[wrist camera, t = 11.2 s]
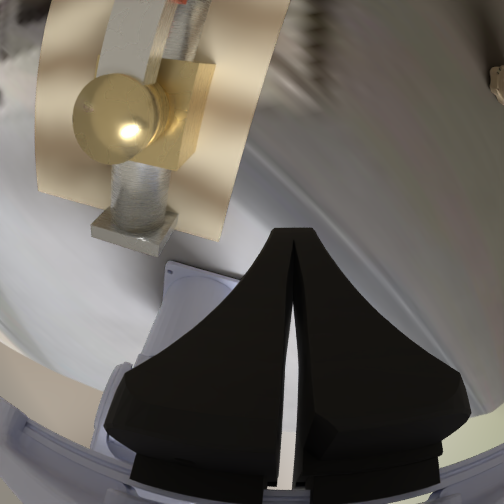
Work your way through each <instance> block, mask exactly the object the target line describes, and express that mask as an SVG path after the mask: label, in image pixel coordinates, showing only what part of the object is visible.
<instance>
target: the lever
mask: <svg viewBox="0 0 504 504" xmlns="http://www.w3.org/2000/svg"><path fill="white" fill-rule="evenodd" d="M186 3H187V0H115V2H114V5H113V8H112V11H111V15H110V18H109V22H108V25H107V29H106V33H105V37H104V41H103V45H102V50H101V54H100V59H99V64H98V69H97V75H96V78H95V79H93V80H92V81H90V82H89V83H88V84H87V85H86V86H85V87H84V88H83V89H82V91H81V92H80V93H79V95H78V97H77V99H76V102H75V105H74V109H73V115H72V123H73V130H74V134H75V137H76V140H77V142H78V144H79V145H80V147H81V148H82V150H83V151H84V152H85V153H86V154H87V155H88V156H89V157H90V158H92V159H93V160H95V161H97V162H100V163H103V164H108V165H115V164H121V163H124V162H126V161H128V160H130V159H131V158H133V157H134V156H136V155H137V154H138V153H140V152H141V151H143V150H144V149H146V148H147V147H149V146H150V145H152V144H153V143H154V142H155V141H156V140H157V139H158V138H159V137H160V136H161V134H162V133H163V131H164V129H165V127H166V124H167V121H168V116H169V104H168V99H167V96H166V93H165V91H164V89H163V87H162V86H161V85H160V83H159V82H158V81H157V80H156V79H157V75H158V71H159V67H160V63H161V59H162V55H163V51H164V48H165V44H166V41H167V37H168V34H169V31H170V27H171V24H172V21H173V18H174V15H175V12H176V9H177V6H178V4H184V5H186Z"/></svg>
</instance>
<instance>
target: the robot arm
mask: <svg viewBox="0 0 504 504" xmlns="http://www.w3.org/2000/svg"><path fill="white" fill-rule="evenodd" d="M170 270H172V271H170ZM292 305H293V307H294V317H295V327H296V338H297V349H298V365H299V375H298V407H297V428H296V444H295V458H294V459H295V460H294V471H293V482H292V490H269V489H267V486H271V487H277V478H278V475H279V463H280V449H281V434H282V418H283V400H284V380H285V363H286V354H287V346H288V338H289V331H290V322H291V314H292ZM132 365H133V364H131V363H128V362H124V363H123V364H120V365H117V366H116V367H115V369H114V370H113V372H112V374H111V376H110V378H109V380H108V383H107V385H106V387H105V390H104V392H103V395H102V398H101V401H100V404H99V407H98V410H97V414H96V418H95V423H94V429H95V430H94V434H93V437H92V441H91V445H90V448H91V449H88V448H86V447H84V446H82V445H79V444H77V443H75V442H73V441H71V440H69V439H67V438H65V437H63V436H60V435H59V434H57V433H55V432H53V431H51V430H49V429H47V428H45V427H44V426H42V425H40V424H38V423H37V422H35V421H33V420H31V419H30V418H28V417H27V416H26V415H25V414H24V413H23V412H21V411H20V410H19V409H17V408H16V407H15V406H13V405H12V404H11V403H9V402H8V401H6V400H5V399H3V398H2V397H0V477H1V478H2V480H3V481H4V482H5V483H6V484H7V486H8V487H9V488H10V489H11V490H12V492H13V493H14V494H15V495H16V496H17V497H18V498H19V500H20V501H21V502H22V503H23V504H194V503H196V504H388V503H392V502H397V501H401V500H405V499H409V498H413V497H417V496H420V495H424V494H427V493H431V492H433V493H432V494H431V495H430V497H429V499H428V500H427V501H426V502H422V503H418V504H504V443H503V444H501V445H499V446H497V447H494V448H492V449H490V450H488V451H486V452H483V453H481V454H479V455H476V456H473V457H471V458H468V459H466V460H463V461H460V462H458V463H455V464H452V465H449V466H446V467H443V468H440V469H439V464H438V456H440V455H442V453H443V448H442V440H443V439H445V438H446V437H448V436H449V435H451V434H452V433H453V432H455V431H456V430H457V429H459V428H460V427H461V426H462V425H463V424H464V423H466V422H467V420H468V418H469V417H470V415H471V409H470V404H469V400H468V396H467V392H466V388H465V385H464V383H463V380H462V377H461V375H460V373H459V372H458V371H456V370H455V369H453V368H451V367H450V366H448V365H447V364H445V363H444V362H442V361H440V360H439V359H437V358H436V357H434V356H433V355H431V354H430V353H428V352H427V351H425V350H424V349H423V348H421V347H420V346H419V345H417V344H416V343H414V342H413V341H412V340H410V339H409V338H408V337H407V336H405V335H404V334H403V333H402V332H400V331H399V330H398V329H397V328H396V327H395V326H393V325H392V324H391V323H390V322H389V321H388V320H386V319H385V318H384V317H383V316H382V315H381V314H380V313H379V312H378V311H377V310H376V309H374V308H373V307H372V306H371V305H370V303H369V302H368V301H367V300H366V299H365V298H364V297H363V296H362V295H361V294H360V293H359V292H358V291H357V289H356V288H355V287H354V286H353V285H352V284H351V282H350V281H349V280H348V279H347V278H346V276H345V275H344V274H343V273H342V271H341V270H340V269H339V267H338V266H337V265H336V263H335V262H334V260H333V259H332V258H331V256H330V255H329V253H328V252H327V250H326V249H325V247H324V246H323V244H322V243H321V241H320V239H319V237H318V236H317V234H316V232H315V230H314V229H313V228H274V229H273V230H272V231H271V233H270V235H269V238H268V240H267V242H266V243H265V245H264V247H263V249H262V250H261V252H260V253H259V255H258V257H257V258H256V260H255V261H254V263H253V264H252V266H251V267H250V268H249V270H248V271H247V272H246V274H245V275H244V276H243V278H242V279H241V280H237V279H233V278H230V277H226V276H223V275H219V274H216V273H212V272H209V271H205V270H202V269H198V268H195V267H191V266H188V265H184V264H181V263H178V262H174V261H168V262H167V263H166V265H165V275H164V288H163V302H162V305H161V307H160V309H159V312H158V314H157V316H156V319H155V321H154V323H153V326H152V328H151V330H150V333H149V335H148V338H147V340H146V343H145V345H144V347H143V350H142V352H141V354H139V355H138V358H137V360H136V363H135V365H134V368H133V369H132ZM434 491H435V492H434Z"/></svg>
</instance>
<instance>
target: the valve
mask: <svg viewBox="0 0 504 504" xmlns="http://www.w3.org/2000/svg"><path fill="white" fill-rule="evenodd" d="M211 2H212V0H187V3H186V5H184V4H178V6H177V9H176V12H175V15H174V18H173V21H172V24H171V27H170V31H169V34H168V37H167V41H166V44H165V48H164V51H163V55H162V59H161V63H160V67H159V71H158V75H157V79H156V80H157V81H158V82H159V83H160V85H161V86H162V87H163V89H164V91H165V93H166V96H167V99H168V104H169V116H168V121H167V124H166V127H165V129H164V131H163V133H162V134H161V136H160V137H159V138H158V139H157V140H156V141H155V142H154V143H153V144H152V145H150V146H149V147H147V148H146V149H144V150H143V151H141V152H140V153H138V154H137V155H136V156H134V157H133V158H131V159H130V160H128V161H126V162H124V163H121V164H115V165H112V168H111V205H110V206H109V207H108V208H107V209H106V210H105V211H104V212H103V213H102V214H101V215H100V216H99V217H98V218H97V219H96V220H95V221H94V222H93V223H92V224H91V235H92V237H94V238H97V239H100V240H103V241H107V242H110V243H113V244H116V245H119V246H122V247H125V248H129V249H132V250H135V251H138V252H142V253H145V254H148V255H151V256H155V257H159V255H160V253H161V251H162V250H163V248H164V246H165V244H166V243H167V241H168V239H169V238H170V236H171V234H172V233H173V231H174V229H175V227H176V226H177V222H178V215H179V214H178V213H174V212H170V211H167V210H166V206H167V198H168V190H169V183H170V177H171V170H172V171H177V170H178V169H179V168H180V167H181V166H182V165H183V164H184V163H185V162H186V161H187V160H188V159H189V158H190V157H191V156H192V155H193V154H194V153H195V151H196V146H197V141H198V137H199V132H200V128H201V123H202V119H203V115H204V110H205V106H206V102H207V98H208V94H209V90H210V86H211V82H212V79H213V75H214V71H215V67H216V64H210V63H205V62H199V61H194V59H195V55H196V51H197V47H198V44H199V40H200V37H201V33H202V30H203V27H204V23H205V20H206V17H207V14H208V11H209V8H210V5H211ZM99 59H100V55H98V58H97V63H96V69H95V76H94V79H95V78H96V75H97V69H98V64H99Z"/></svg>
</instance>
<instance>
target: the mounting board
mask: <svg viewBox="0 0 504 504" xmlns="http://www.w3.org/2000/svg"><path fill="white" fill-rule="evenodd" d="M290 1H291V0H212V2H211V5H210V8H209V11H208V14H207V17H206V20H205V23H204V27H203V30H202V33H201V37H200V40H199V44H198V47H197V51H196V55H195V59H194V61H199V62H205V63H210V64H216V67H215V71H214V75H213V79H212V82H211V86H210V90H209V94H208V98H207V102H206V106H205V110H204V115H203V119H202V123H201V128H200V132H199V137H198V141H197V146H196V151H195V153H194V154H193V155H192V156H191V157H190V158H189V159H188V160H187V161H186V162H185V163H184V164H183V165H182V166H181V167H180V168H179V169H178V170H177V171H172V170H171V177H170V183H169V190H168V198H167V206H166V210H167V211H170V212H174V213H178V214H179V215H178V222H177V226H176V227H175V229H174V230H177V231H181V232H185V233H188V234H192V235H195V236H199V237H202V238H206V239H209V240H213V241H216V242H219V239H220V236H221V232H222V228H223V224H224V220H225V216H226V213H227V209H228V205H229V201H230V197H231V194H232V190H233V186H234V183H235V179H236V175H237V172H238V168H239V164H240V161H241V157H242V154H243V150H244V147H245V143H246V140H247V136H248V133H249V129H250V126H251V122H252V119H253V116H254V112H255V109H256V106H257V102H258V99H259V96H260V92H261V89H262V86H263V83H264V79H265V76H266V73H267V70H268V67H269V64H270V60H271V57H272V54H273V51H274V48H275V45H276V42H277V39H278V36H279V33H280V30H281V27H282V24H283V21H284V18H285V15H286V12H287V10H288V7H289V4H290ZM114 2H115V0H52V2H51V6H50V9H49V13H48V17H47V22H46V26H45V31H44V36H43V41H42V47H41V53H40V60H39V67H38V76H37V87H36V101H35V158H36V173H37V184H38V191H39V192H43V193H47V194H50V195H54V196H57V197H61V198H64V199H68V200H71V201H75V202H78V203H82V204H85V205H89V206H93V207H96V208H100V209H103V210H106V209H107V208H108V207H109V206H110V205H111V168H112V165H108V164H103V163H100V162H97V161H95V160H93V159H92V158H90V157H89V156H88V155H87V154H86V153H85V152H84V151H83V150H82V148H81V147H80V145H79V144H78V142H77V140H76V137H75V134H74V130H73V123H72V115H73V109H74V105H75V102H76V99H77V97H78V95H79V93H80V92H81V91H82V89H83V88H84V87H85V86H86V85H87V84H88V83H89V82H90V81H92V80H93V79H94V76H95V69H96V63H97V58H98V55H100V54H101V50H102V45H103V41H104V37H105V33H106V29H107V25H108V22H109V18H110V15H111V11H112V8H113V5H114Z"/></svg>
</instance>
